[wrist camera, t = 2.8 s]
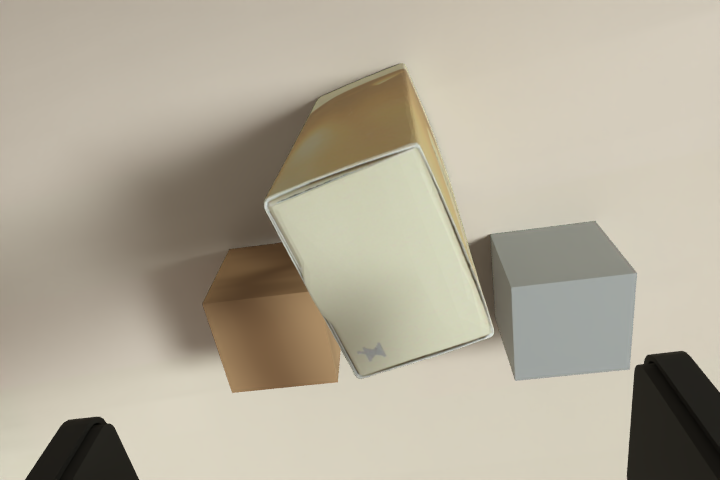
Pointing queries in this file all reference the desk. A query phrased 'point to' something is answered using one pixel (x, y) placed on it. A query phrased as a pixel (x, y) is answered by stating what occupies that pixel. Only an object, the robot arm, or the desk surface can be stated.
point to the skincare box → (378, 228)
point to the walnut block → (268, 323)
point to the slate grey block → (563, 300)
